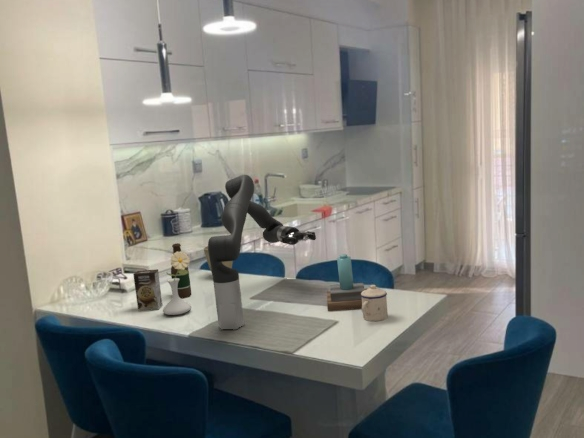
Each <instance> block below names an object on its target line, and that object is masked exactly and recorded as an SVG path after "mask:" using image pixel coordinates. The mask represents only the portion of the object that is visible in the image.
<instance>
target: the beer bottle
mask: <svg viewBox="0 0 584 438" xmlns="http://www.w3.org/2000/svg"><path fill="white" fill-rule="evenodd" d="M181 245H182V244H181V243H173V244H172V251H173V252H172V255H174V253H176V252H177V251H178V252H180V251H181V252H182V249H181ZM180 270H181V269H180ZM185 270H187V271H188V272H189V266H188V267H187V268H185ZM177 271H178V269H175V268H174V267H173V266H172V265H171V267H170V274H174V275H175V276H176V274H177V276H176V278H179V279H180V280H179V282H178V286H177V290H178V295H179V297H180V298H181V299H182V300H183V299H186V298H190V297H191V296H192V286H191V280H190V279H191V277H190V272H189V273H187V274H185V275H181V274H179V273H177ZM175 276H170V277H171V279H173V278H175Z"/></svg>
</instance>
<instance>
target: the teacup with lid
mask: <svg viewBox="0 0 584 438" xmlns="http://www.w3.org/2000/svg"><path fill="white" fill-rule="evenodd" d="M387 295H388V294H387V291H386V290H385V289H383V288H382V289H381V288H379V287H377V285H375V284H371V285H369V287H368V288H367V290H364V291H363V292H362V293H361V297H362V309H361V312H362V318H363V319H364V320H366V321H369V322H381V321H384V320H386V319H387V318H388V317H389V316H388V304H387V303H388V301H387Z"/></svg>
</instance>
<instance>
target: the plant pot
mask: <svg viewBox="0 0 584 438" xmlns="http://www.w3.org/2000/svg"><path fill="white" fill-rule="evenodd" d="M203 251H204V255H205V259H206V262H207V264H208V268H209V271H210V272H211V273H212V270H211V263H210V258H209V252H208V245H207V246H204V247H203ZM233 262H234V261H226V262H222V264H223V265H225V266H227V267H229V268H232V269H233V264H234V263H233Z"/></svg>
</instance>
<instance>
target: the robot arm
mask: <svg viewBox="0 0 584 438" xmlns="http://www.w3.org/2000/svg"><path fill="white" fill-rule="evenodd" d="M224 188H225V192H226V194H227V196H228V197H229V200H228V201H227V203H226V204H225V206H224V207H223V210H222V213H221V218H220V219H221V223H222V225H223V227H224V228H225V230H226V231H228V232H229V234H228V235H217V236H215V235H214V236H211V237H210V238H209V239H208V241H207V246H208V252H209V258H210V263H211V270H212V272H211V275H212V281H213V289H214V291H213V292H214V298H215V306H216V314H217V320H218V321H217V322H218V324H217V325H218V328H219V327H220V328H221V329H233V330H238V329H240V328H241V326H242V327H243V326H244V325H245V319H244V318H245V317H244V312H243V311H244V310H243V302H242V301H243V300H242V292H241V284H240V275H239V271H238V270H237V269H236V268H233V267H232V268H229V267H227V266H225V265H223V264H222V262H226V261H233V262H234V261H236V260H237V259H239V256H240V253H241V246H242V245H241V244H242V236H243V231H244V228H245V223H246V220H247V219H246V218H247V216H248V215H249V216H250V217H251V218H252V219H253V221H254V222H255V223H256V224H257V226H258V227H259V228H260V229H264V230H263V231H262V237H263V239H264V240H265V241H266V242H268V243H271V244H274V243H279V242H280V243H282V244H286V245H291V246H294V245H296V244H298V243H299V242H303V241H304V242H305V241H309V240H310V241H311V240H312V241H316V239H317V237H316V236H317V235H316V232H314V231H308V230H307V231H300V230H299V228H297V227H294V226H290V225H284V224H283V223H282V222H280V221H279V220H277V219H276V218H274V217H273V216H272V215H271V214H270V213H269V211H268V210H267V209H266V207H264V206H263V205H261V204H259V203H257V202H253V200H252V198H253V196H254V194H255V193H254V192H255V184H254V181H253V178H252V177H251V176H250V175H249V174H242V175H239V176H236V177H233V178H231V179H229V180H227V181H226V182H225V186H224ZM211 270H210V271H211ZM239 327H240V328H239ZM220 328H219V329H220ZM221 329H220V330H221Z"/></svg>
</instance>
